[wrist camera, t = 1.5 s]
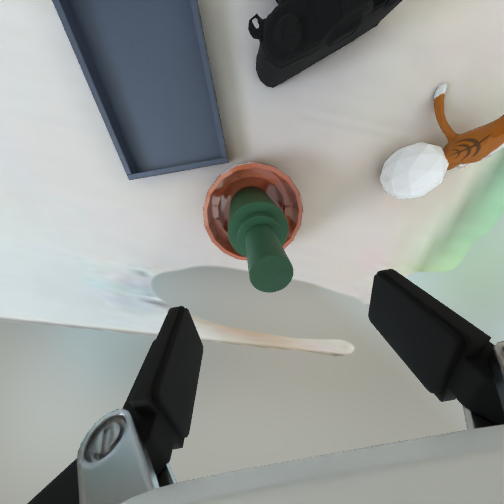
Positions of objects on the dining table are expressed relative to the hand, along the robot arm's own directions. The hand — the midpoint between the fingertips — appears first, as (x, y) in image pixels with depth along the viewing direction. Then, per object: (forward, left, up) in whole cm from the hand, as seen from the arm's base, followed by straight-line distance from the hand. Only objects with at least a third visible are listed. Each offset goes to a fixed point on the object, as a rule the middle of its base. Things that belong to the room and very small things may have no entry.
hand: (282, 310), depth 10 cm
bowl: (0, 0, -21) cm, 21 cm away
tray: (-15, -8, -21) cm, 27 cm away
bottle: (0, 0, -20) cm, 20 cm away
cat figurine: (-5, +26, -21) cm, 34 cm away
